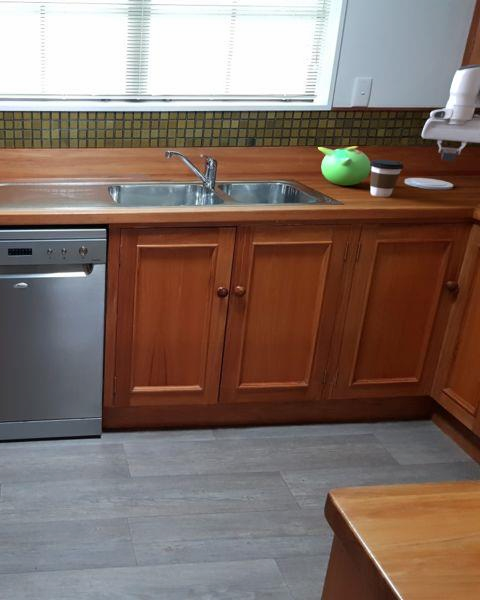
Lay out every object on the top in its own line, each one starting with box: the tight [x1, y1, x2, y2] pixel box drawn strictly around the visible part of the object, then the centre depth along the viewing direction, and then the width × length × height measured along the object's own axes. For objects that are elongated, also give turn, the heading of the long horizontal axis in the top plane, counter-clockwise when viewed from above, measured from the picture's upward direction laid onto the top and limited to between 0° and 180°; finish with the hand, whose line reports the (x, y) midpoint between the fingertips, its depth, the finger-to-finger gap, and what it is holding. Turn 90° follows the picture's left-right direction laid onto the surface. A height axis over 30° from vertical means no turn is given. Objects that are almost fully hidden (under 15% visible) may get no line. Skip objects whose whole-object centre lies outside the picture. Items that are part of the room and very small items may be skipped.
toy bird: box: [317, 145, 372, 187], centre depth 232 cm, size 18×17×15 cm
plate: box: [404, 177, 454, 191], centre depth 239 cm, size 17×17×1 cm
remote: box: [441, 147, 457, 162], centre depth 220 cm, size 14×4×3 cm, turn 151°
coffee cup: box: [369, 158, 405, 198], centre depth 218 cm, size 11×11×12 cm
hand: (448, 153), depth 220 cm, fingers closed on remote, 4 cm apart
